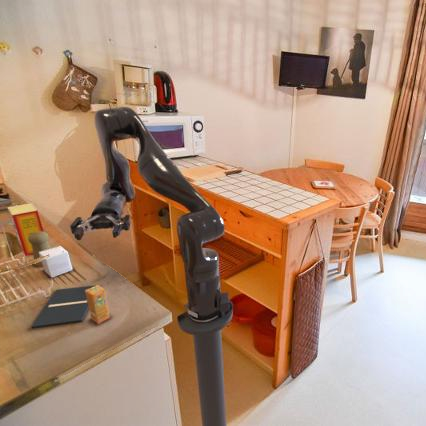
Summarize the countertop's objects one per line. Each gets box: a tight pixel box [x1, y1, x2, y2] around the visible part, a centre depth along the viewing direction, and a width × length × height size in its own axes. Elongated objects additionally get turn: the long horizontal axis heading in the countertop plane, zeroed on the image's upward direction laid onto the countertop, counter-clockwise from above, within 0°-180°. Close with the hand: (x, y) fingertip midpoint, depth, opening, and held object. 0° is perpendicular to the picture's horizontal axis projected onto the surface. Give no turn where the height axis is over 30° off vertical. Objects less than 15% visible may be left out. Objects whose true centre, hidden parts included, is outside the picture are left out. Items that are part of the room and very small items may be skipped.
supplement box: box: [85, 284, 110, 325], centre depth 85 cm, size 3×3×10 cm
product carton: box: [39, 245, 73, 278], centre depth 104 cm, size 6×6×7 cm
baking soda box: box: [6, 202, 45, 257], centre depth 113 cm, size 10×6×16 cm
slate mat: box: [31, 285, 95, 329], centre depth 91 cm, size 11×16×1 cm
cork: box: [28, 231, 52, 267], centre depth 107 cm, size 6×6×11 cm
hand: (96, 236), depth 88 cm, fingers open, 8 cm apart
